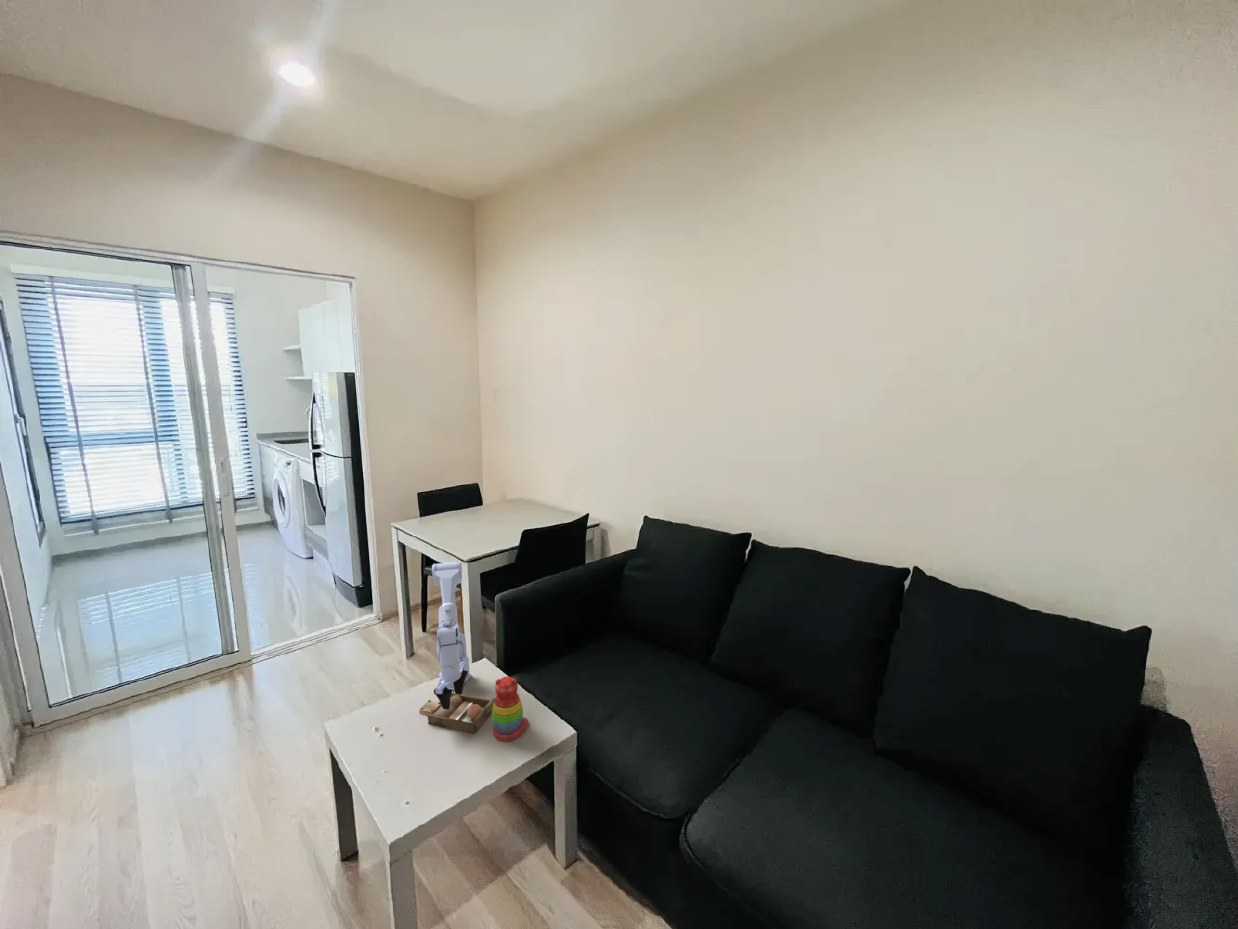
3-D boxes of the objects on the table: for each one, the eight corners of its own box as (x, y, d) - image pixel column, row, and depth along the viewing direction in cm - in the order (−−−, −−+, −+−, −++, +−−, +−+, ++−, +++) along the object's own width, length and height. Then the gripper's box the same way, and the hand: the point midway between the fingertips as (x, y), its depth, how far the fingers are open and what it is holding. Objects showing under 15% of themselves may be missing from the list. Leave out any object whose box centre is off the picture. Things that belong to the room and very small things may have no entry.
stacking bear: (530, 721, 157) (528, 669, 154) (520, 744, 147) (518, 689, 144) (497, 718, 158) (494, 667, 155) (485, 741, 148) (482, 687, 145)
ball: (486, 710, 158) (478, 716, 160) (478, 698, 159) (470, 705, 160) (478, 718, 154) (470, 724, 156) (470, 706, 155) (461, 713, 156)
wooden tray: (451, 708, 167) (450, 689, 166) (495, 717, 163) (494, 698, 162) (429, 732, 156) (427, 712, 155) (475, 742, 151) (474, 722, 150)
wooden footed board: (429, 703, 165) (428, 699, 165) (442, 706, 164) (441, 701, 163) (419, 713, 160) (419, 708, 160) (432, 716, 159) (432, 711, 159)
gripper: (451, 648, 165) (453, 685, 167) (425, 673, 151) (428, 713, 153) (470, 651, 163) (472, 688, 165) (446, 676, 149) (448, 716, 151)
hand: (452, 700), depth 159 cm, fingers open, 7 cm apart
